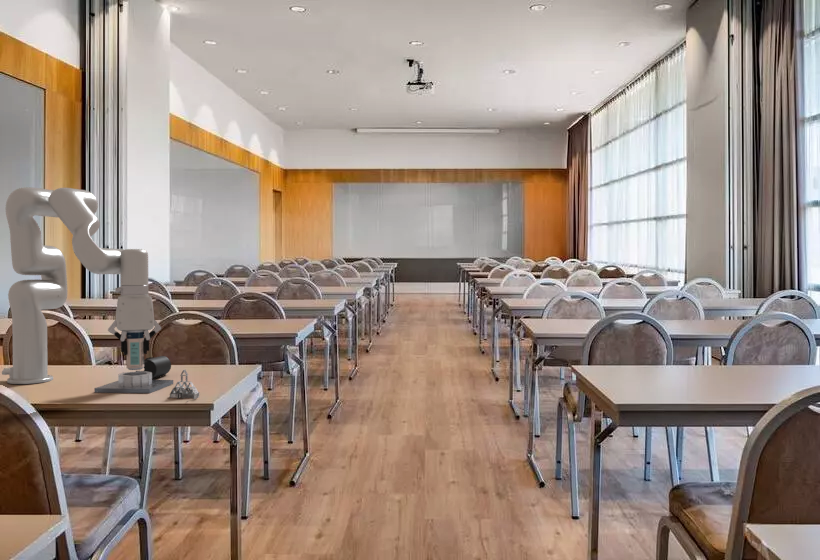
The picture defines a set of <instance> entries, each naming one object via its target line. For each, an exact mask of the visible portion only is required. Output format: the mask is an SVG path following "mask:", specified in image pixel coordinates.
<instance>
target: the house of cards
mask: <svg viewBox="0 0 820 560" xmlns="http://www.w3.org/2000/svg"><path fill="white" fill-rule="evenodd" d="M183 376H184V377H185V380H184V377H183ZM188 380H189V374H188V372H187V370H186V369H182V372H181V374H180V380H179V381H177V382H176V383H175V386H174V387H173V388H172V389H171V391H170V393H169V398H174V399H175V398H177V399H181V398H182V399H187V398H188V399H192V400H195V399H198V398H200V392H199V391H198V389H197V387H196V386H195V384H194V383H193V381H188ZM184 385H185V386H184ZM190 385H191V386H190ZM188 402H189V401H186V403H188Z"/></svg>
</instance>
